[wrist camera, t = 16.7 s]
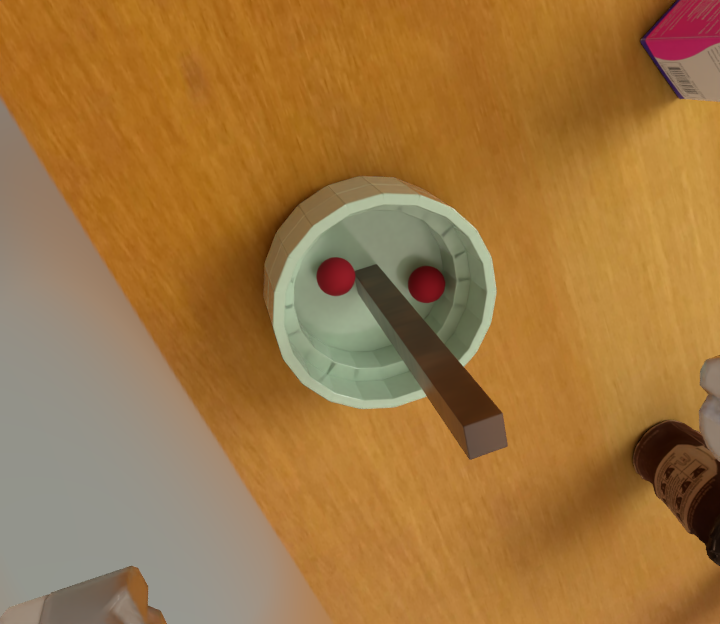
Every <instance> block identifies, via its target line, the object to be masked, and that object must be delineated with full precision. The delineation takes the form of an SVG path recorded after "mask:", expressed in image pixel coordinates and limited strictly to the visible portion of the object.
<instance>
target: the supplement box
mask: <svg viewBox="0 0 720 624" xmlns="http://www.w3.org/2000/svg"><path fill="white" fill-rule="evenodd" d="M640 42H641V44H642V45H643V47H644V48H645V50H646V51H647V53H648V54H649V56H650V57H651V59H652V60H653V62H654V63H655V65H656V66H657V67H658V69H659V70H660V72H661V73H662V75H663V76H664V77H665V79H666V80H667V82H668V83H669V85H670V86H671V87H672V89H673V90H674V92H675V93H676V95H677V96H678V98H679V99H692V100H705V101H716V102H720V0H677V1H676V2H675V3H674V4H673V5H672V7H671V8H670V9H669V10H668V11H667V12H666V13H665V14H664V15H663V16H662V17H661V18H660V19H659V21H658V22H657V23H656V24H655V25H654V26H653V27H652V28H651V29H650V30H649V31H648V32H647V33H646V34H645V35H644V37H643V38H642V39H641V40H640Z"/></svg>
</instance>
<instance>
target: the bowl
mask: <svg viewBox="0 0 720 624" xmlns="http://www.w3.org/2000/svg"><path fill="white" fill-rule="evenodd" d="M332 257H339V258H343V259H345V260H347V261H348V262H349V263H350V264H351V265H352V267H353V268H354V271H356V270H359V269H362V268H366V267H369V266H372V265H375V264H377V265H378V266H379V267H380V268H381V270H382V271H383V272H384V273H385V274H386V275H387V277H388V278H389V279H390V280H391V281H392V283H393V284H394V285H395V286H396V287H397V289H398V290H399V291H400V292H401V293H402V294H403V296H404V297H405V298H406V299H407V300H408V302H409V303H410V304H411V305H412V306H413V307H414V309H415V310H416V311H417V312H418V313H419V315H420V316H421V317H422V318H423V319H424V321H425V322H426V323H427V324H428V325H429V326H430V328H431V329H432V330H433V331H434V332H435V334H436V335H437V336H438V337H439V338H440V340H441V341H442V342H443V343H444V344H445V345H446V347H447V348H448V349H449V350H450V351H451V353H452V354H453V355H454V356H455V357H456V359H457V360H458V361H459V362H460V363H461V364H462V366H463V367H464V366H465V365H466V364H467V363H468V362H469V360H470V359H471V358H472V357H473V356H474V355H475V353H476V352H477V350H478V348H479V346H480V344H481V342H482V340H483V338H484V336H485V334H486V332H487V330H488V328H489V326H490V324H491V321H492V315H493V309H494V304H495V298H496V292H497V291H496V283H495V276H494V269H493V262H492V257H491V255H490V253H489V251H488V250H487V248H486V246H485V244H484V242H483V240H482V238H481V236H480V234H479V232H478V230H476V228H475V227H474V226H472V225H471V224H470V223H469V222H468V221H467V220H466V219H465V218H464V217H462V216H461V215H460V214H459V213H458V212H457V211H456V210H455V209H454V208H452V207H451V206H449V205H447V204H446V203H444V202H443V201H441V200H440V199H438V198H437V197H435V196H433V195H432V194H430V193H429V192H427V191H426V190H424V189H422V188H420V187H417V186H415V185H412V184H410V183H407V182H405V181H402V180H400V179H397V178H393V177H376V176H358V177H355V178H351V179H348V180H344V181H341V182H337V183H333V184H330V185H328V186H326V187H324V188H323V189H321V190H320V191H318V192H317V193H315V194H314V195H312V196H311V197H309V198H308V199H306V200H305V201H303V202H302V203H300V204H299V206H297V207H296V208H295V209H294V211H293V212H292V213H291V214H290V216H289V217H288V218H287V219H286V221H285V222H284V223H283V224H282V226H281V227H280V228H279V229H278V231H277V232H276V234H275V237H274V239H273V242H272V245H271V247H270V250H269V253H268V255H267V258H266V261H265V265H264V291H263V295H264V300H265V303H266V306H267V310H268V313H269V317H270V320H271V323H272V327H273V330H274V333H275V336H276V339H277V342H278V346H279V349H280V352H281V355H282V358H283V360H284V361H285V362H286V364H287V365H288V366H289V368H290V369H291V370H292V371H293V373H294V374H295V375H296V377H297V378H298V379H299V380H300V382H301V383H302V384H303V385H305V386H306V387H308V388H309V389H311V390H312V391H314V392H316V393H317V394H319V395H320V396H322V397H324V398H325V399H327V400H328V401H331V402H334V403H338V404H342V405H346V406H350V407H354V408H359V409H373V408H393V407H397V406H400V405H403V404H406V403H409V402H412V401H415V400H418V399H421V398H424V397H425V396H426V394H425V393H424V391H423V390H422V388H421V387H420V385H419V384H418V382H417V381H416V379H415V378H414V376H413V375H412V373H411V372H410V370H409V369H408V367H407V366H406V364H405V363H404V361H403V360H402V358H401V357H400V355H399V354H398V352H397V351H396V349H395V348H394V346H393V345H392V343H391V342H390V341H389V339H388V338H387V336H386V335H385V333H384V332H383V330H382V329H381V327H380V326H379V324H378V323H377V321H376V320H375V318H374V317H373V315H372V314H371V312H370V311H369V309H368V308H367V306H366V305H365V303H364V302H363V300H362V299H361V297H360V296H359V294H358V291H357V287H356V283H355V282H354V285H353V287H352V288H351V290H350V291H349V292H347V293H346V294H344V295H341V296H331V295H328V294H326V293H325V292H323V291H322V290H321V289H320V287H319V285H318V283H317V279H316V275H317V270H318V268H319V266H320V265H321V264H322V263H323V262H324V261H325V260H327V259H329V258H332ZM422 266H432V267H435V268H436V269H438V270H439V271H440V272H441V273H442V274H443V276H444V279H445V290H444V292H443V294H442V296H441V297H440V298H439V299H438V300H436V301H434V302H431V303H422V302H419V301H417V300H415V299H414V298H413V297H412V296H411V294H410V292H409V289H408V280H409V277H410V275H411V273H412V272H413V271H414V270H415V269H417V268H419V267H422Z"/></svg>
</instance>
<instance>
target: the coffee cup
mask: <svg viewBox="0 0 720 624" xmlns="http://www.w3.org/2000/svg"><path fill="white" fill-rule="evenodd" d="M633 463H634V467H635V471H636V472H637V473H638V474H639V475H640V476H641V477H642V479H645V480H647V481H649V482H651V483H652V484H653V487H654V491H655V494H656V496H657V497H658V498H659V499H661V500H662V501H663V502H664V503H665V504H666V505H667V507H668V508H669V509H670V510H671V511H672V513H673V514H674V515H675V516H676V518H677V519H678V521H679V522H680V523H681V524H682V526H683V527H684V528H685V529H686V531H687V532H688V533H690V534H694V535H696V536H697V537H698V538H699V540H701V541H702V542H703V543H705V545H706V551H707V555H708V556H709V558H710V559H711V560H712V561H714V562H715V563H716V564H717V565H719V566H720V462H719V461H718V460H717V459H716V458H715V456H714V455H713V454H712V453H711V451H710V450H709V449H708V448H707V446H706V443H705V441H704V439H703V436H702V434H701V433H700V432H698V431H696V430H693V429H692V428H691V427H689V426H687V425H686V424H684V423H682V422H679V421H675V420H667V421H664V422H662V423H660V424H658V425H656V426H654V427H652V428H651V429H650V430H649V431H647V432H646V433H645V435H644V436H643V437H642V438H641V440H640V441H639V443H638V444H637V446H636V449H635V452H634V457H633Z"/></svg>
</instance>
